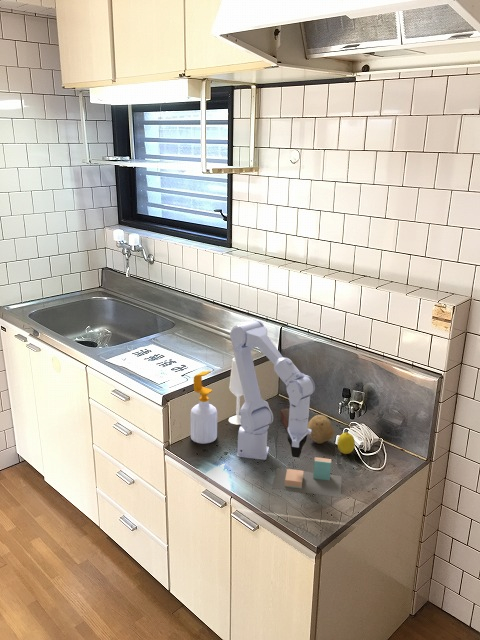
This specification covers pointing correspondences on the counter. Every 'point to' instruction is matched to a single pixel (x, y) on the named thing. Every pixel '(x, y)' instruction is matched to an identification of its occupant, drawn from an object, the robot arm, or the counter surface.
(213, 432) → the soap bottle
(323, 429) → the brown round lump
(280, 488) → the mat
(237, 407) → the champagne flute
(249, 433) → the robot arm
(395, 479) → the counter surface
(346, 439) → the lemon
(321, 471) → the tile right
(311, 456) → the counter surface
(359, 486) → the counter surface
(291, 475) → the tile left
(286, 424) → the brick
